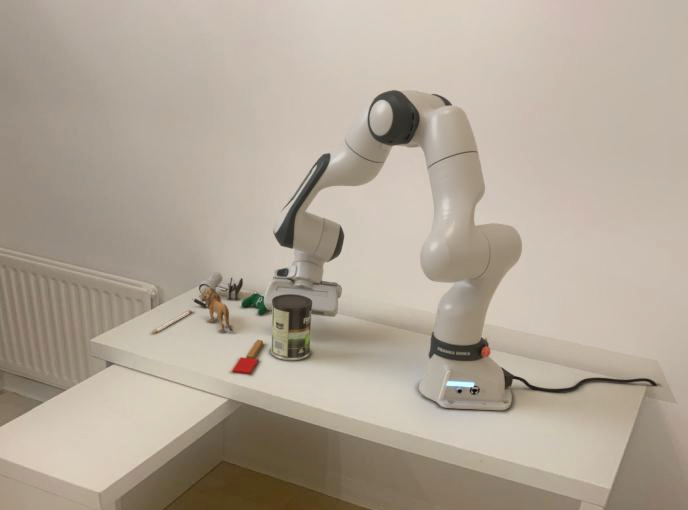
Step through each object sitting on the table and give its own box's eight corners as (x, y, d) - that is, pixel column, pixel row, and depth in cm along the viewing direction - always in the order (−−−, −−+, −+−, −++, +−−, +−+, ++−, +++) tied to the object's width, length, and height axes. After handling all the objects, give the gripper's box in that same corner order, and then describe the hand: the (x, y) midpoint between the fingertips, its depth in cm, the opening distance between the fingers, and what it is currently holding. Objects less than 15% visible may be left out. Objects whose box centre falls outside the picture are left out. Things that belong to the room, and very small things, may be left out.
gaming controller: (266, 320, 221) (277, 303, 221) (259, 313, 217) (270, 296, 218) (246, 310, 226) (257, 294, 226) (239, 304, 223) (250, 287, 223)
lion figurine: (197, 317, 215) (196, 287, 210) (213, 314, 218) (213, 283, 212) (225, 335, 206) (224, 303, 200) (241, 331, 208) (241, 299, 203)
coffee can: (312, 347, 201) (315, 296, 193) (305, 362, 193) (308, 310, 185) (275, 342, 203) (277, 291, 195) (266, 357, 195) (267, 305, 186)
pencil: (191, 313, 218) (191, 310, 218) (154, 334, 204) (154, 331, 204) (189, 312, 218) (189, 310, 218) (152, 333, 204) (151, 331, 204)
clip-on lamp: (221, 320, 222) (246, 289, 233) (220, 302, 217) (246, 271, 228) (185, 310, 224) (212, 280, 235) (184, 291, 219) (211, 261, 230)
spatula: (268, 345, 201) (268, 341, 201) (250, 374, 186) (250, 370, 185) (251, 343, 202) (251, 338, 201) (232, 372, 187) (232, 367, 186)
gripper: (343, 289, 205) (335, 336, 203) (271, 280, 208) (262, 327, 206) (342, 277, 199) (333, 326, 197) (267, 269, 202) (258, 317, 199)
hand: (296, 326), depth 201 cm, fingers closed
